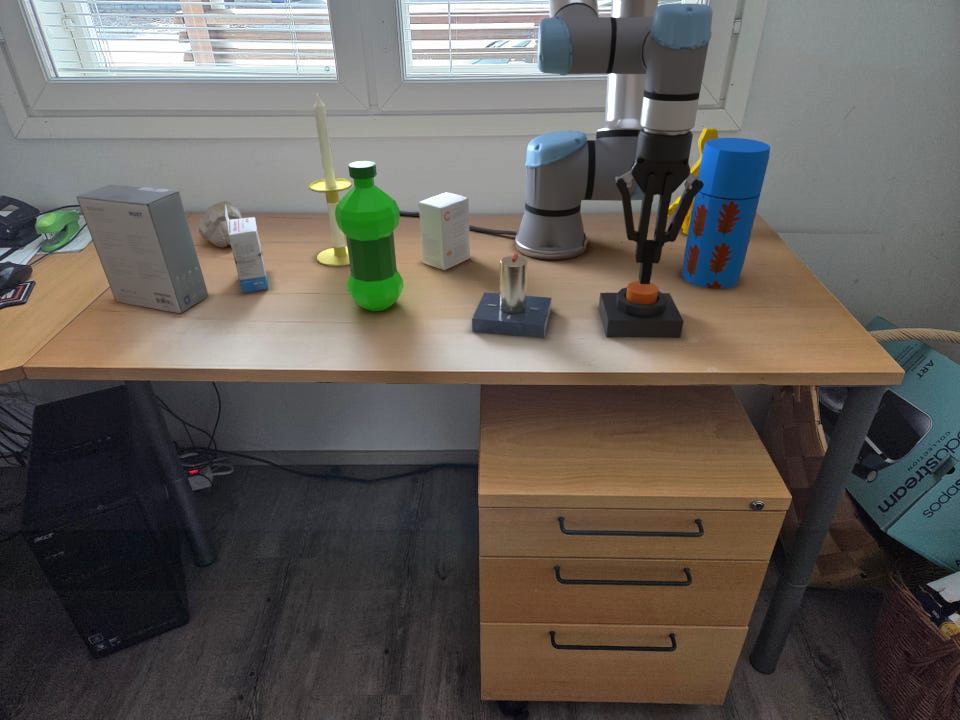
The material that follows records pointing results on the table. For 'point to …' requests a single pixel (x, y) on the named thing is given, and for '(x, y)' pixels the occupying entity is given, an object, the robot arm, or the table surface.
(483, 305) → the dial panel
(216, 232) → the fossil replica
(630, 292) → the button
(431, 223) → the small box
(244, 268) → the ink box
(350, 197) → the plastic bottle
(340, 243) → the candle
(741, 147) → the thermos
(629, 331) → the black button base
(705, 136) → the figure statuette
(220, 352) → the table surface
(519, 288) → the dial knob
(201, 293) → the hard drive box
